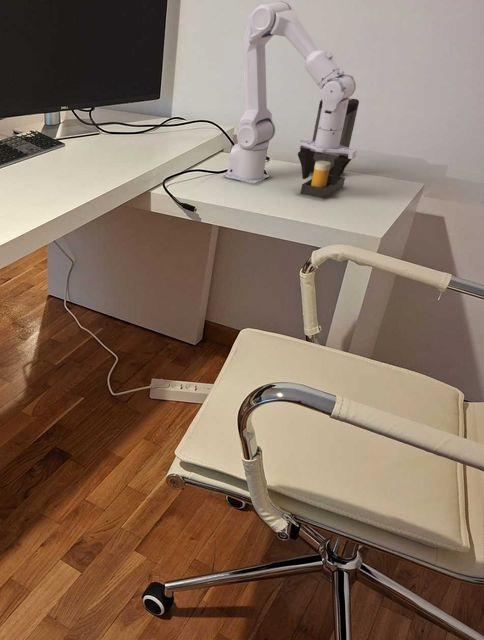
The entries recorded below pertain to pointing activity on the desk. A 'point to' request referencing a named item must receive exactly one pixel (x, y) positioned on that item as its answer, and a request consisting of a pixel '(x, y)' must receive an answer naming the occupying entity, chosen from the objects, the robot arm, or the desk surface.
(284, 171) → the desk surface
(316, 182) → the pill bottle
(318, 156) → the electronic device
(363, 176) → the desk surface
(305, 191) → the organizer
